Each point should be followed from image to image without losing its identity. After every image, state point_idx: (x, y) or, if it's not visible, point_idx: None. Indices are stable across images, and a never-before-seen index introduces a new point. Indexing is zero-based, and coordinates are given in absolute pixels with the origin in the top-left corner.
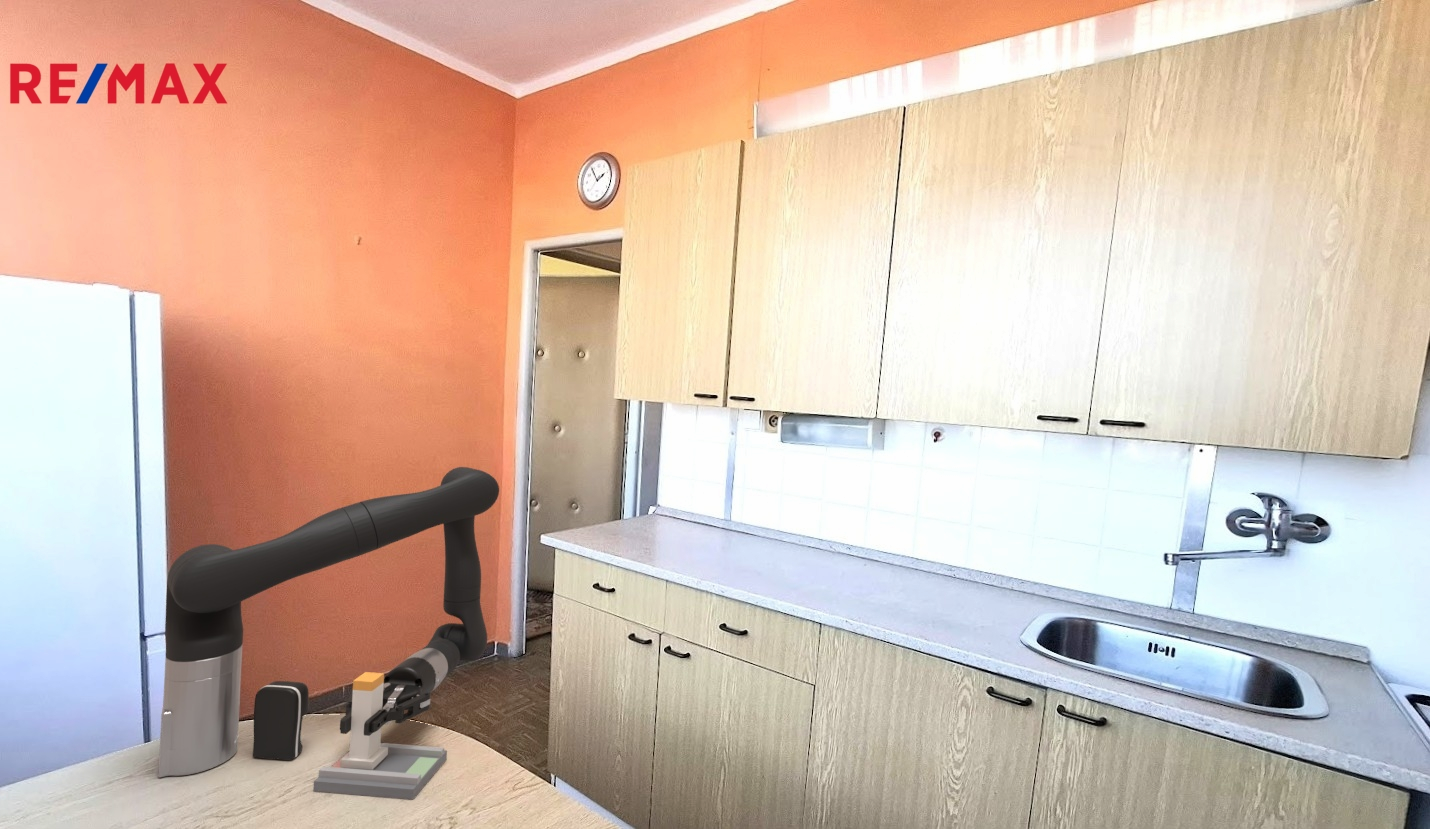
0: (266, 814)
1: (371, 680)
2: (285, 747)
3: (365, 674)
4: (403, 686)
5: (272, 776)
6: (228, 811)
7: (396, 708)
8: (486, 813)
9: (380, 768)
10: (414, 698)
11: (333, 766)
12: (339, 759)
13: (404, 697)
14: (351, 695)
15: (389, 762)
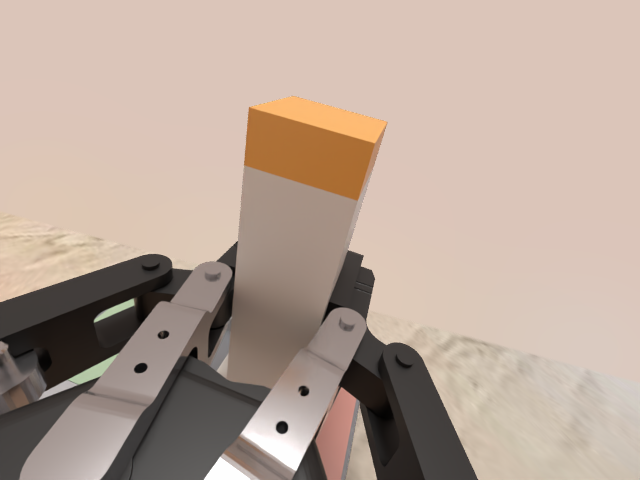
0: (407, 326)
1: (302, 101)
2: None
3: (359, 131)
4: (57, 436)
5: (503, 466)
6: (478, 351)
7: (170, 263)
8: (35, 228)
9: (219, 362)
10: (43, 312)
11: (350, 405)
12: (349, 447)
13: (90, 381)
14: (456, 459)
15: None
